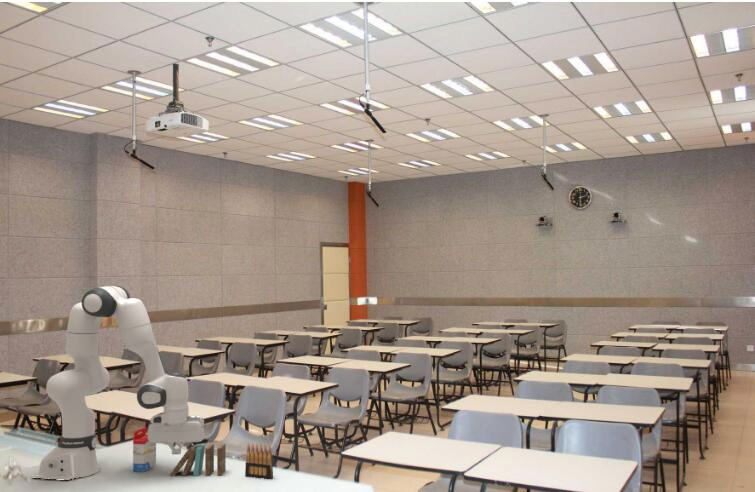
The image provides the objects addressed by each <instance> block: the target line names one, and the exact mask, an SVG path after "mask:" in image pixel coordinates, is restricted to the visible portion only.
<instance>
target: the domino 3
mask: <svg viewBox="0 0 755 492" xmlns="http://www.w3.org/2000/svg"><path fill="white" fill-rule="evenodd" d="M198 445H199V446H198V447H197V448H196V457H195V461H194V464H193V466H194V467H193V475H192V476H194V477H199V475H200V474H201V473H202V472H203V467H204V460H205V459H204V458H205V448H206V444H205V443H200V444H198Z"/></svg>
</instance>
